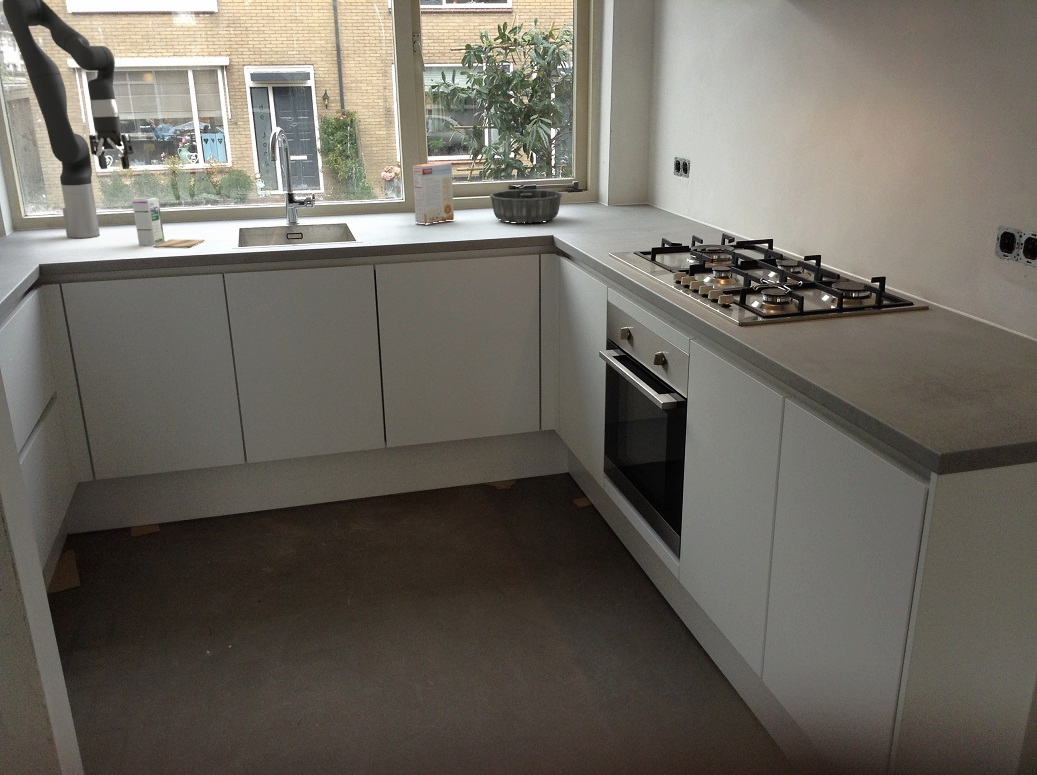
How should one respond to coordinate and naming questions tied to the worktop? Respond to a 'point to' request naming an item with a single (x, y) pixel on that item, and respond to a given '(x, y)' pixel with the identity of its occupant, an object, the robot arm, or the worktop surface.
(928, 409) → the worktop surface
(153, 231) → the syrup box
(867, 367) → the worktop surface
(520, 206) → the bundt pan
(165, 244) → the wooden slatted trivet
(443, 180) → the cracker box
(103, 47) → the robot arm
